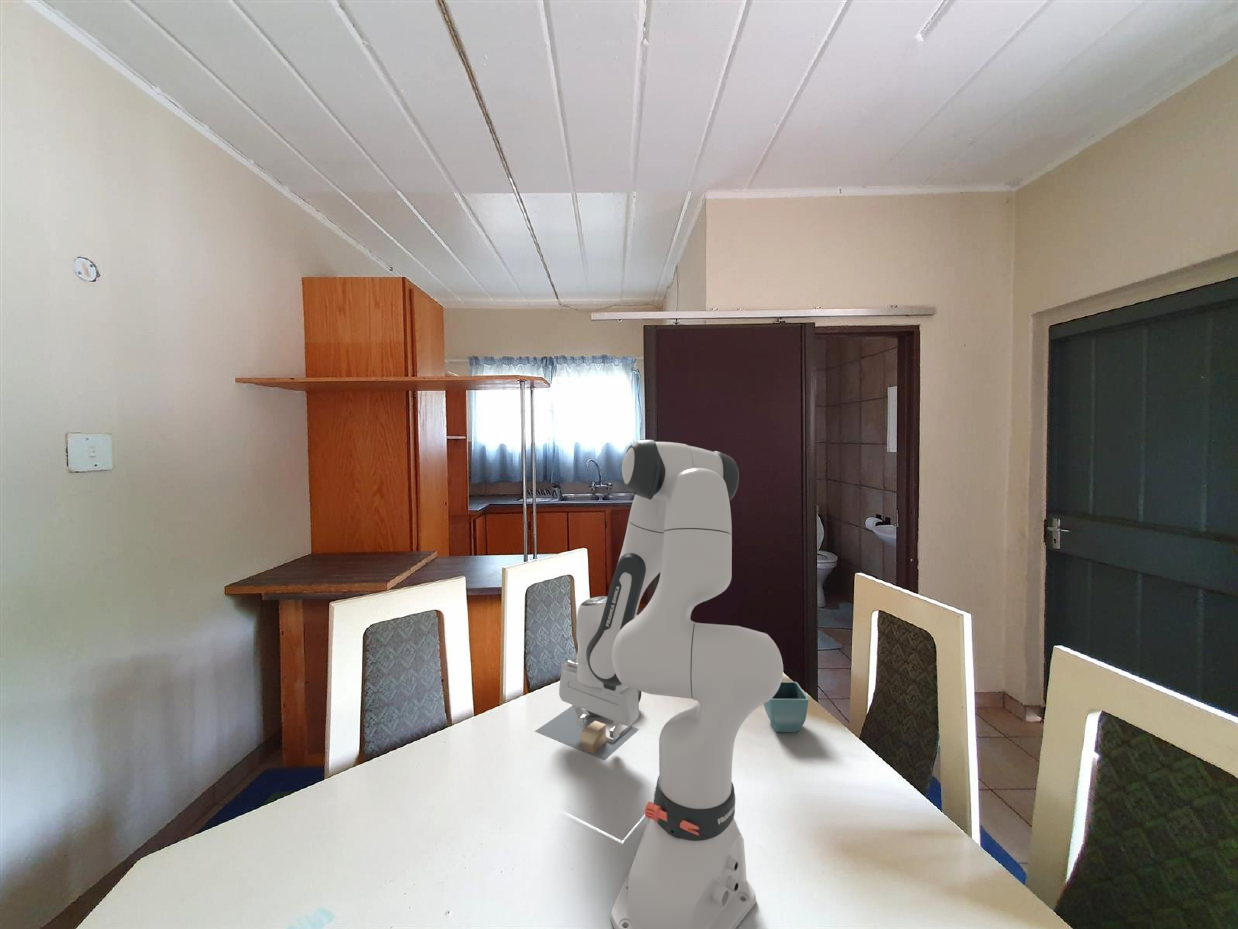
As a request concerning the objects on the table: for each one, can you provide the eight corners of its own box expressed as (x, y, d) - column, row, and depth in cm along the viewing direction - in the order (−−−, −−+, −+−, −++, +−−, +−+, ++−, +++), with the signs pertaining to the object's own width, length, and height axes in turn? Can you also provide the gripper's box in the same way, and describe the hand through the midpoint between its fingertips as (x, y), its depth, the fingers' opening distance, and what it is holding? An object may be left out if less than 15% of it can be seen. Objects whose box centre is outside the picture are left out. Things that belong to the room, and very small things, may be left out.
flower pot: (809, 738, 113) (809, 699, 113) (770, 737, 114) (770, 699, 113) (796, 717, 122) (796, 681, 122) (760, 717, 122) (760, 681, 122)
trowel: (598, 755, 107) (598, 737, 107) (576, 746, 110) (576, 728, 110) (631, 726, 118) (631, 709, 118) (611, 719, 121) (610, 703, 121)
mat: (604, 762, 105) (604, 760, 105) (534, 732, 116) (534, 731, 116) (639, 730, 117) (639, 729, 117) (572, 707, 128) (572, 705, 128)
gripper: (552, 663, 114) (553, 722, 115) (625, 688, 102) (626, 753, 103) (570, 653, 119) (571, 710, 120) (642, 676, 108) (643, 738, 108)
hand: (597, 730), depth 111 cm, fingers open, 8 cm apart
